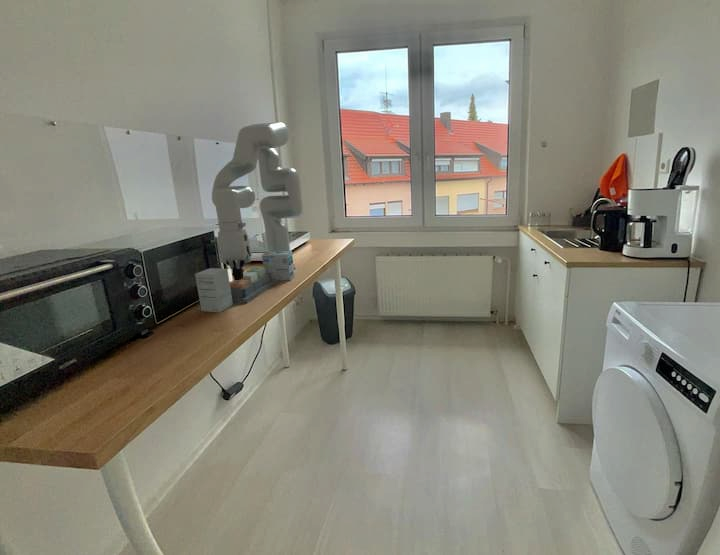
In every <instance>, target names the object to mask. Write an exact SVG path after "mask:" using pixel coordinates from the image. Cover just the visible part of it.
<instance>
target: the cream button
mask: <svg viewBox="0 0 720 555" xmlns="http://www.w3.org/2000/svg"><path fill="white" fill-rule="evenodd" d="M257 279H258V276H257V272H247V271H244V272H243V278H242V279H241V280H249V283H252V282H254V281H256V280H257Z"/></svg>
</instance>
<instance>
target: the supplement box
mask: <svg viewBox="0 0 720 555" xmlns="http://www.w3.org/2000/svg"><path fill="white" fill-rule="evenodd" d="M228 271H229V270H228V268H218V267H217V268H215V267H213V268H211V267H210V268H206V269H205V270H202V271H199V272H196V273H195V274H194V276H195V282H196V287H197V292H198V297H199V298H198V299H199V304H200V310H201V311H202V312H211V313H221V312H223V311H224V310H226V309H228V308H230V307H232V306H233V305H234V303H233V301H232V295H231V289H230V283H231V282H230V277H229V272H228Z"/></svg>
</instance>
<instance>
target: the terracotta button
mask: <svg viewBox="0 0 720 555" xmlns="http://www.w3.org/2000/svg"><path fill="white" fill-rule="evenodd" d="M248 285H249V280H234V279H233V281H231V282H230V288H242V289H243V288H244V287H246V286H248Z"/></svg>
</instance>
